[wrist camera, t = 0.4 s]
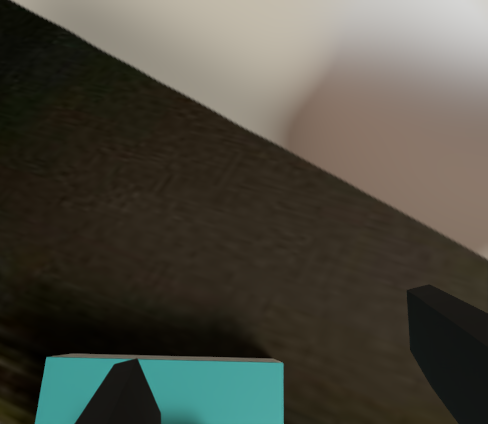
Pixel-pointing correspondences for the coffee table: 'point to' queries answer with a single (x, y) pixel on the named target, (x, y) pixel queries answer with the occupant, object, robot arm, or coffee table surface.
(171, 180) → the coffee table surface
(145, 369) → the lid
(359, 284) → the coffee table surface
